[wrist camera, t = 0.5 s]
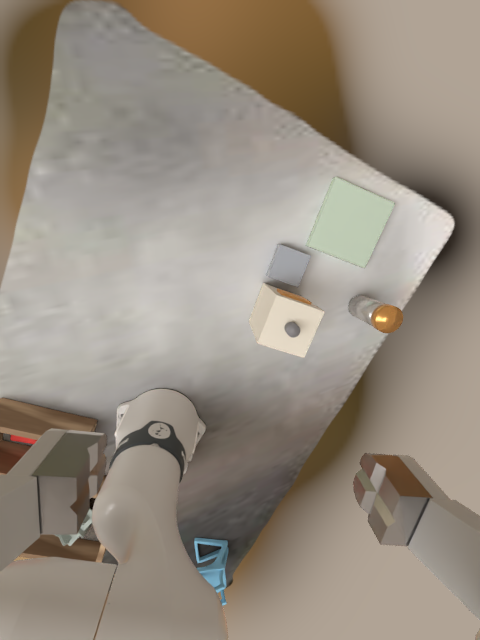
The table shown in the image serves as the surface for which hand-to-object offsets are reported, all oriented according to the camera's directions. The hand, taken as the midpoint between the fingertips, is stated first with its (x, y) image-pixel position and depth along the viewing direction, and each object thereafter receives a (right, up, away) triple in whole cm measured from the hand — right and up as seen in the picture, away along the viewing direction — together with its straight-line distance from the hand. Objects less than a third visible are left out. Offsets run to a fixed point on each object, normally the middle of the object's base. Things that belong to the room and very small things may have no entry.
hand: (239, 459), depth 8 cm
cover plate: (+9, +15, +42) cm, 46 cm away
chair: (-7, -54, +61) cm, 82 cm away
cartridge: (+24, +7, +45) cm, 52 cm away
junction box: (+7, +7, +44) cm, 45 cm away
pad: (+20, +22, +41) cm, 50 cm away
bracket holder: (-40, -19, +48) cm, 65 cm away
